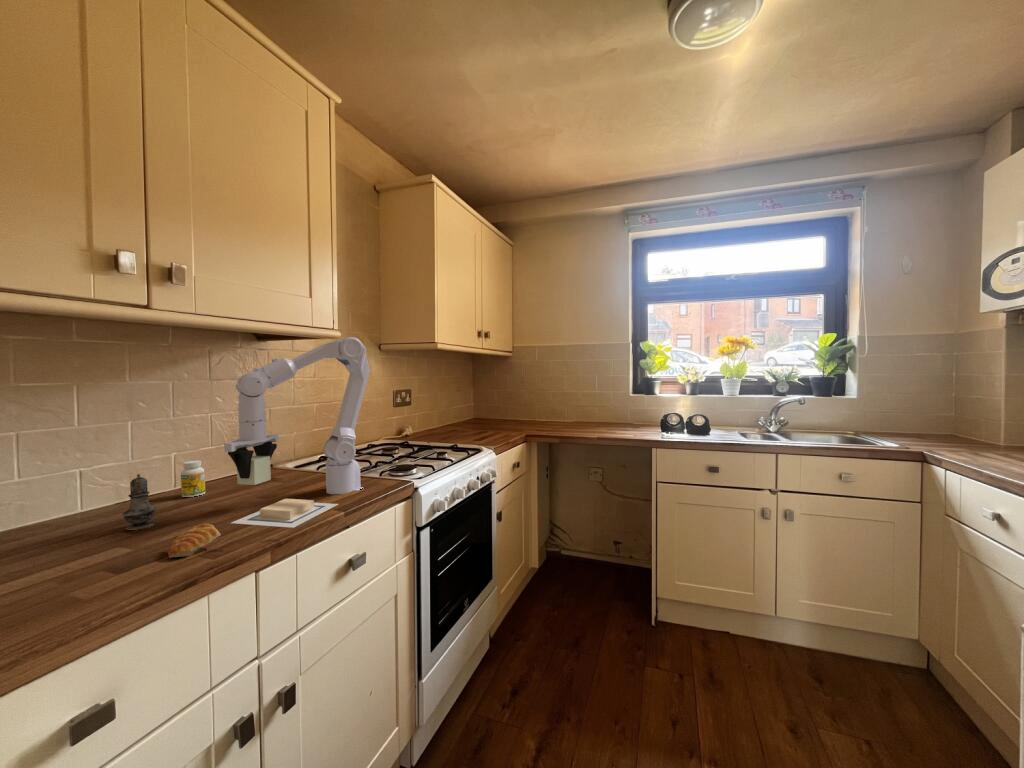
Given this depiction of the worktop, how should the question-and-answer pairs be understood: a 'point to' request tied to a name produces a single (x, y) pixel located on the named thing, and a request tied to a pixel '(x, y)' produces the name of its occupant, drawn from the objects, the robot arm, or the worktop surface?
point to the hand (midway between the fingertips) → (254, 475)
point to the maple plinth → (287, 509)
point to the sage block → (257, 471)
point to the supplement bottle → (192, 479)
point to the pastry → (193, 540)
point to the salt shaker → (139, 505)
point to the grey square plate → (256, 520)
